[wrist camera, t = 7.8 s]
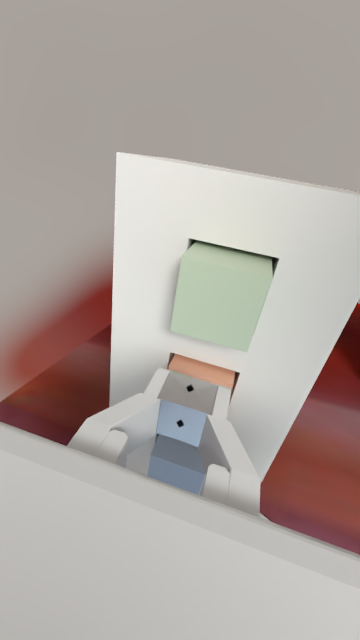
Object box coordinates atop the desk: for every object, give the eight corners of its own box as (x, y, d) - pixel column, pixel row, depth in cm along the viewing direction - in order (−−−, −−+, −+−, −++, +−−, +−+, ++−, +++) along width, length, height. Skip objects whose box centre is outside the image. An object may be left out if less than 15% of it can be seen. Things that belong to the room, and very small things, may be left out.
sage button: (190, 296, 20) (202, 235, 18) (251, 312, 19) (271, 250, 17) (169, 330, 16) (181, 255, 14) (247, 352, 15) (272, 277, 13)
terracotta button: (179, 370, 25) (186, 329, 23) (226, 384, 24) (239, 344, 22) (161, 411, 21) (168, 366, 19) (218, 430, 20) (233, 385, 18)
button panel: (143, 409, 38) (172, 158, 23) (244, 443, 36) (351, 190, 21) (107, 478, 30) (116, 152, 14) (237, 527, 27) (409, 204, 12)
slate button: (164, 438, 28) (169, 408, 26) (206, 452, 27) (215, 423, 25) (145, 485, 24) (150, 454, 22) (195, 504, 23) (205, 474, 21)
